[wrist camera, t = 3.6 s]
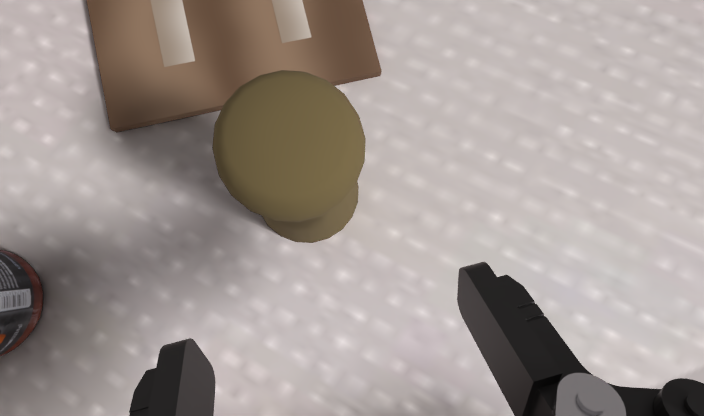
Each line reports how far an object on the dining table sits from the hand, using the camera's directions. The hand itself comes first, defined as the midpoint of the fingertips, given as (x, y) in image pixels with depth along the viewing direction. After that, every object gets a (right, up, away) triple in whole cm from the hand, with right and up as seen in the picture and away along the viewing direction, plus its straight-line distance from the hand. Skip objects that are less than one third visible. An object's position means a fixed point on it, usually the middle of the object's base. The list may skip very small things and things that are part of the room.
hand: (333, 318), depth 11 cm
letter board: (-7, +17, +12) cm, 23 cm away
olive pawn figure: (-2, +4, +11) cm, 12 cm away
